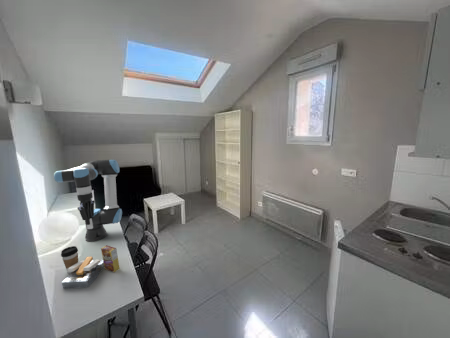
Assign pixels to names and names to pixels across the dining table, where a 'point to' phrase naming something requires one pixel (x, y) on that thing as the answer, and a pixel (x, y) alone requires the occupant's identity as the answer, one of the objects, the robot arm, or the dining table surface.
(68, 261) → the coffee cup
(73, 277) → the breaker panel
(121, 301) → the dining table surface
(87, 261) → the long orange bar
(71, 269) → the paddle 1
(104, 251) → the candy box
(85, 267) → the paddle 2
